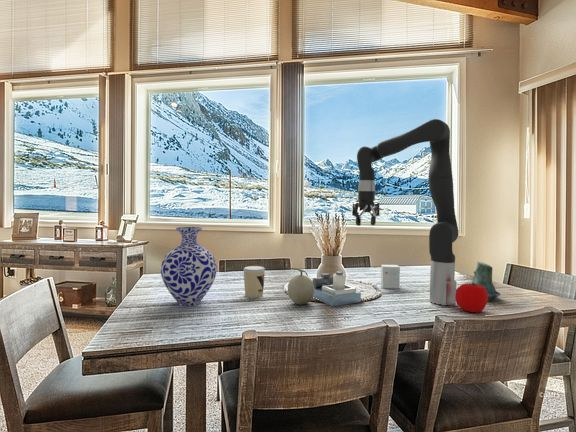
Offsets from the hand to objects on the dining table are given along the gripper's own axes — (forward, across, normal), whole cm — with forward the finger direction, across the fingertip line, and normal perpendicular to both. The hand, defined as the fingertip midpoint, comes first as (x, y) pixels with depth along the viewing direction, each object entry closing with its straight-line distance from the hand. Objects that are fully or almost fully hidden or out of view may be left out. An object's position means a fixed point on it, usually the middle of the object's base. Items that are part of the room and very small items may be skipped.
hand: (365, 225), depth 176 cm
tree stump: (+30, +35, -31) cm, 56 cm away
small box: (+30, +14, -2) cm, 33 cm away
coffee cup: (+30, -51, +12) cm, 60 cm away
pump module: (+26, -23, -11) cm, 37 cm away
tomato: (+30, +15, -45) cm, 56 cm away
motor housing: (+30, -23, -8) cm, 39 cm away
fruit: (+30, -39, -8) cm, 50 cm away
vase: (+30, -79, +12) cm, 85 cm away
